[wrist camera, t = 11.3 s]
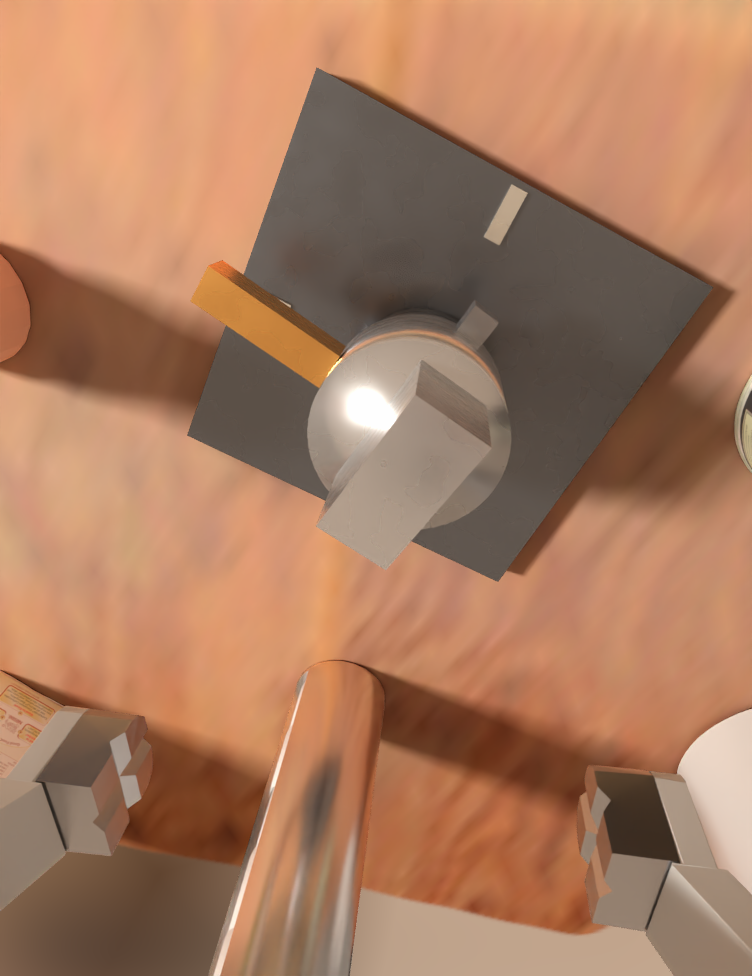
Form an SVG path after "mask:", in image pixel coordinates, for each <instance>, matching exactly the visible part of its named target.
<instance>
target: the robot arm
mask: <svg viewBox="0 0 752 976" xmlns="http://www.w3.org/2000/svg"><path fill="white" fill-rule="evenodd" d="M147 730H148V728H147V725H146V721H145V717H144V716H139V715H132V714H125V713H118V712H111V711H104V710H97V709H88V708H80V707H73V706H65V707H63V708H62V709H60V710H59V711H57V712H56V713H55V715H54V716H53V717H52V719H51V720H50V721H49V723H48V724H47V725H46V726H45V728H44V729H43V730H42V732H41V733H40V734H39V736H38V737H37V738H36V740H35V741H34V742H33V743H32V745H31V746H30V747H29V749H28V750H27V751H26V753H25V754H24V755H23V756H22V758H21V759H20V760H19V762H18V763H17V764H16V766H15V767H14V768H13V770H12V771H11V772H10V773H9V775H8V776H7V777H6V778H0V911H1V910H2V909H3V908H4V907H5V906H7V905H8V904H9V903H10V902H11V901H12V900H13V899H15V898H16V897H17V896H18V895H19V894H21V893H22V892H23V891H24V890H25V889H26V888H27V887H29V886H30V885H31V884H32V883H33V882H34V881H35V880H37V879H38V878H39V877H40V876H41V875H43V874H44V873H45V872H46V871H47V870H48V869H49V868H50V867H52V866H53V865H54V864H55V863H56V862H57V861H59V860H60V859H61V858H62V857H63V856H64V855H66V852H65V851H69V852H78V853H87V854H98V855H106V856H112V854H113V852H114V850H115V848H116V846H117V844H118V842H119V841H120V839H121V837H122V835H123V833H124V831H125V829H126V827H127V825H128V823H129V822H130V820H129V815H128V808H129V807H131V806H132V805H133V804H135V803H136V802H138V801H139V800H140V799H141V798H142V796H143V794H144V792H145V790H146V788H147V786H148V784H149V781H150V777H151V773H152V770H153V751H152V746H151V745H150V744H149V743H148V742H147V741H146V740H145V739H144V738H143V737H144V735H145V733H146V731H147ZM584 781H585V787H586V792H585V793H584V794H582V795H581V796H580V798H579V803H578V808H577V836H578V844H579V850H580V855H581V856H582V857H583V859H584V860H585V861H586V862H587V863H588V865H589V866H588V870H587V874H586V878H585V886H586V891H587V897H588V903H589V908H590V914H591V920H592V923H597V924H603V925H609V926H615V927H621V928H627V929H633V930H638V931H645V932H646V936H647V937H648V939H649V940H650V942H651V943H652V945H653V946H654V948H655V949H656V950H657V952H658V953H659V955H660V956H661V958H662V959H663V961H664V962H665V963H666V965H667V966H668V968H669V969H670V971H671V972H672V974H673V975H674V976H752V709H749V710H746V711H743V712H741V713H738V714H736V715H734V716H731V717H729V718H727V719H725V720H723V721H722V722H720V723H718V724H716V725H715V726H713V727H712V728H710V729H709V730H707V731H706V732H705V733H703V734H702V735H701V736H700V737H699V738H698V739H697V740H696V741H695V742H694V743H693V744H692V745H691V746H690V747H689V749H688V750H687V751H686V753H685V754H684V756H683V758H682V760H681V762H680V764H679V767H678V770H677V774H670V773H661V772H652V771H649V772H648V771H647V770H638V769H628V768H618V767H608V766H597V765H589V766H588V768H587V769H586V773H585V777H584Z"/></svg>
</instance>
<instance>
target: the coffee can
mask: <svg viewBox="0 0 752 976" xmlns="http://www.w3.org/2000/svg"><path fill="white" fill-rule="evenodd" d="M734 434H735V441H736V445H737V448H738V451H739V454H740V456H741V458H742V460H743V462H744V463H745V465H746V466H747V468H748V470H749V471H750V472H751V473H752V375H751V377H750V378H749V380H748V382H747V383H746V385H745V387H744V389H743V391H742V394H741V396H740V399H739V401H738V404H737V408H736V412H735V422H734Z"/></svg>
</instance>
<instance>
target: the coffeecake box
mask: <svg viewBox="0 0 752 976" xmlns="http://www.w3.org/2000/svg"><path fill="white" fill-rule="evenodd" d="M63 707H65V706H63V705H61V704H59V703H57V702H56V701H54V700H52V699H50V698H48V697H46V696H44V695H42V694H40V693H38V692H36V691H34V690H33V689H31V688H30V687H28V686H27V685H25V684H23V683H22V682H20V681H18V680H16V679H15V678H13V677H11V676H10V675H8V674H6V673H4V672H2V671H0V778H6V777H7V776H8V775H9V773H10V772H11V771H12V770H13V768H14V767H15V766H16V764H17V763H18V762H19V760H20V759H21V758H22V756H23V755H24V754H25V753H26V751H27V750H28V749H29V747H30V746H31V745H32V743H33V742H34V741H35V740H36V738H37V737H38V736H39V734H40V733H41V732H42V730H43V729H44V728H45V726H46V725H47V724H48V723H49V721H50V720H51V719H52V717H53V716H54V715H55V713H56V712H57V711H59V710H60V709H62V708H63Z"/></svg>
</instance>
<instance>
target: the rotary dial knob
mask: <svg viewBox="0 0 752 976" xmlns="http://www.w3.org/2000/svg"><path fill="white" fill-rule="evenodd" d="M191 302H193V303H194V304H195V305H197V306H198V307H200V308H201V309H203V310H204V311H206V312H207V313H209V314H210V315H212V316H213V317H215V318H216V319H218V320H219V321H221V322H222V323H224V324H225V325H227V326H228V327H230V328H231V329H232V330H234V331H235V332H237V333H238V334H240V335H241V336H243V337H244V338H246V339H247V340H249V341H250V342H252V343H253V344H255V345H256V346H258V347H259V348H261V349H262V350H264V351H265V352H267V353H268V354H269V355H271V356H272V357H274V358H275V359H277V360H278V361H280V362H281V363H283V364H284V365H286V366H287V367H289V368H290V369H292V370H293V371H295V372H296V373H298V374H299V375H301V376H302V377H304V378H305V379H306V380H308V381H309V382H311V383H312V384H314V385H315V386H317V387H318V388H319V387H320V386H321V387H320V389H319V391H318V392H317V394H316V396H315V399H314V401H313V404H312V406H311V410H310V414H309V418H308V428H307V437H308V447H309V452H310V457H311V460H312V463H313V466H314V468H315V470H316V472H317V474H318V476H319V478H320V480H321V481H322V483H323V484H324V486H325V487H326V489H327V490H328V491H329V494H328V496H327V499H326V502H325V504H324V507H323V509H322V512H321V514H320V517H319V520H318V522H317V525H316V527H318V528H319V529H321V530H323V531H324V532H326V533H327V534H329V535H331V536H332V537H334V538H335V539H337V540H339V541H340V542H342V543H343V544H345V545H346V546H348V547H350V548H351V549H353V550H354V551H356V552H358V553H359V554H361V555H362V556H364V557H366V558H367V559H369V560H370V561H372V562H374V563H375V564H377V565H378V566H380V567H381V568H383V569H385V570H386V569H387V568H388V567H389V566H390V565H391V564H392V562H393V561H394V560H395V559H396V558H397V557H398V556H399V554H400V553H401V552H402V551H403V550H404V549H405V547H406V546H407V545H408V544H409V543H410V542H411V541H412V539H413V538H414V537H415V536H416V535H417V534H418V533H419V531H420V530H421V529H427V528H433V527H438V526H441V525H445V524H448V523H450V522H453V521H455V520H458V519H460V518H461V517H463V516H465V515H467V514H468V513H470V512H471V511H473V510H474V509H475V508H477V507H478V506H479V505H480V504H481V503H482V502H483V501H484V500H486V499H487V498H488V497H489V495H490V494H491V493H492V491H493V490H494V489H495V488H496V486H497V484H498V483H499V481H500V479H501V478H502V476H503V473H504V471H505V468H506V466H507V463H508V459H509V455H510V448H511V426H510V420H509V415H508V410H507V406H506V401H505V397H504V392H503V388H502V383H501V378H500V375H499V372H498V369H497V367H496V365H495V363H494V360H493V358H492V357H491V355H490V354H489V352H488V351H487V349H486V348H485V347H484V345H483V343H484V342H485V340H486V339H487V338H488V337H489V335H490V334H491V333H492V331H493V330H494V329H495V328H496V326H497V325H498V324H499V321H498V317H497V316H496V315H494V314H493V313H492V312H490V311H489V310H488V309H486V308H485V307H484V306H482V305H481V304H480V303H478V302H477V301H476V300H474V302H473V303H472V304H471V306H470V307H469V308H468V310H467V311H466V312H465V314H464V315H463V316H462V318H461V319H460V320H459V322H458V323H457V324H456V323H453V322H451V321H449V320H447V319H444V318H440V317H437V316H432V315H426V314H404V315H397V316H393V317H389V318H386V319H383V320H381V321H378V322H376V323H374V324H372V325H371V326H369V327H367V328H365V329H364V330H363V331H361V332H360V333H359V334H357V335H356V336H355V337H354V338H353V339H352V340H351V341H350V342H349V343H348V345H347V346H345V345H343V344H342V343H340V342H339V341H337V340H336V339H335V338H333V337H332V336H330V335H329V334H327V333H326V332H325V331H323V330H322V329H320V328H319V327H317V326H316V325H314V324H313V323H312V322H310V321H309V320H307V319H306V318H304V317H303V316H302V315H300V314H299V313H297V312H296V311H294V310H293V309H292V308H290V307H289V306H287V305H286V304H284V303H283V302H281V301H280V300H279V299H277V298H276V297H274V296H273V295H271V294H270V293H269V292H267V291H266V290H264V289H263V288H261V287H260V286H258V285H257V284H256V283H254V282H253V281H251V280H250V279H248V278H247V277H246V276H244V275H243V274H241V273H240V272H238V271H237V270H235V269H234V268H233V267H231V266H230V265H228V264H227V263H225V262H224V261H223V260H222V261H219V262H217V263H214V264H212V265H209V266H208V267H207V269H206V271H205V273H204V275H203V277H202V279H201V281H200V283H199V285H198V287H197V289H196V291H195V293H194V295H193V297H192V299H191ZM325 378H326V379H325ZM323 381H324V382H323ZM322 383H323V384H322ZM321 384H322V385H321Z"/></svg>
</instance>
